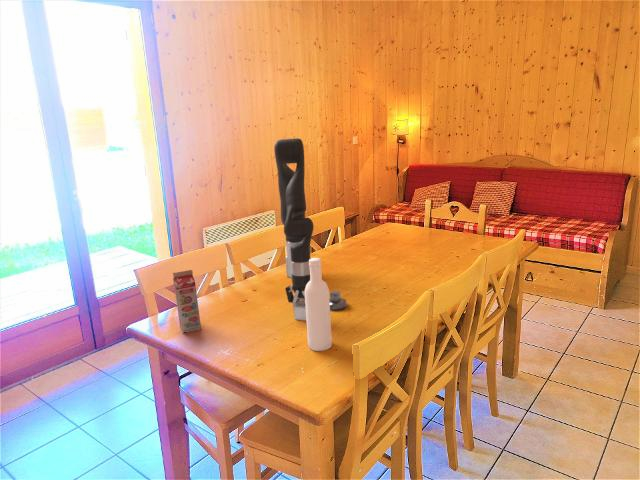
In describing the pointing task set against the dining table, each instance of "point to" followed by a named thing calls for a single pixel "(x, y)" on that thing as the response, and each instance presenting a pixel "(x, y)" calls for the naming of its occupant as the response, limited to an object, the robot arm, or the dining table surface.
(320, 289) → the bottle
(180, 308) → the juice carton
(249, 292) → the dining table surface
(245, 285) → the dining table surface
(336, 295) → the ratchet
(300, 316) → the socket
